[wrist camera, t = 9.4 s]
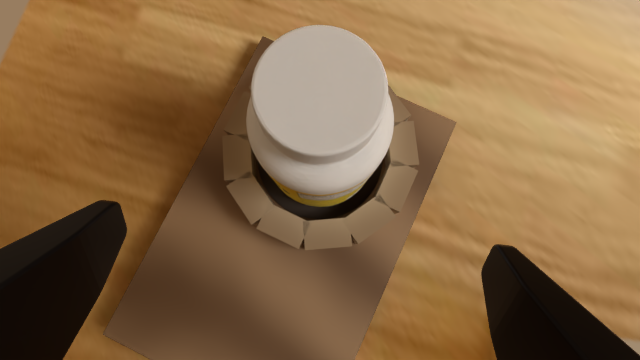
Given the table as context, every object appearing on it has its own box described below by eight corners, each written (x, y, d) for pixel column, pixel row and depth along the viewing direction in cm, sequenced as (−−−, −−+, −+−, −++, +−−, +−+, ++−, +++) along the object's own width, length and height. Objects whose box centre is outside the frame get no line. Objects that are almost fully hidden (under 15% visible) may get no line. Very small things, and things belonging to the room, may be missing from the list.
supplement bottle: (263, 119, 21) (216, 11, 11) (360, 105, 21) (397, -13, 11) (276, 216, 20) (237, 192, 10) (377, 201, 20) (433, 164, 10)
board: (317, 435, 19) (317, 463, 17) (113, 329, 20) (84, 342, 17) (450, 127, 22) (467, 113, 19) (265, 45, 23) (258, 21, 20)
